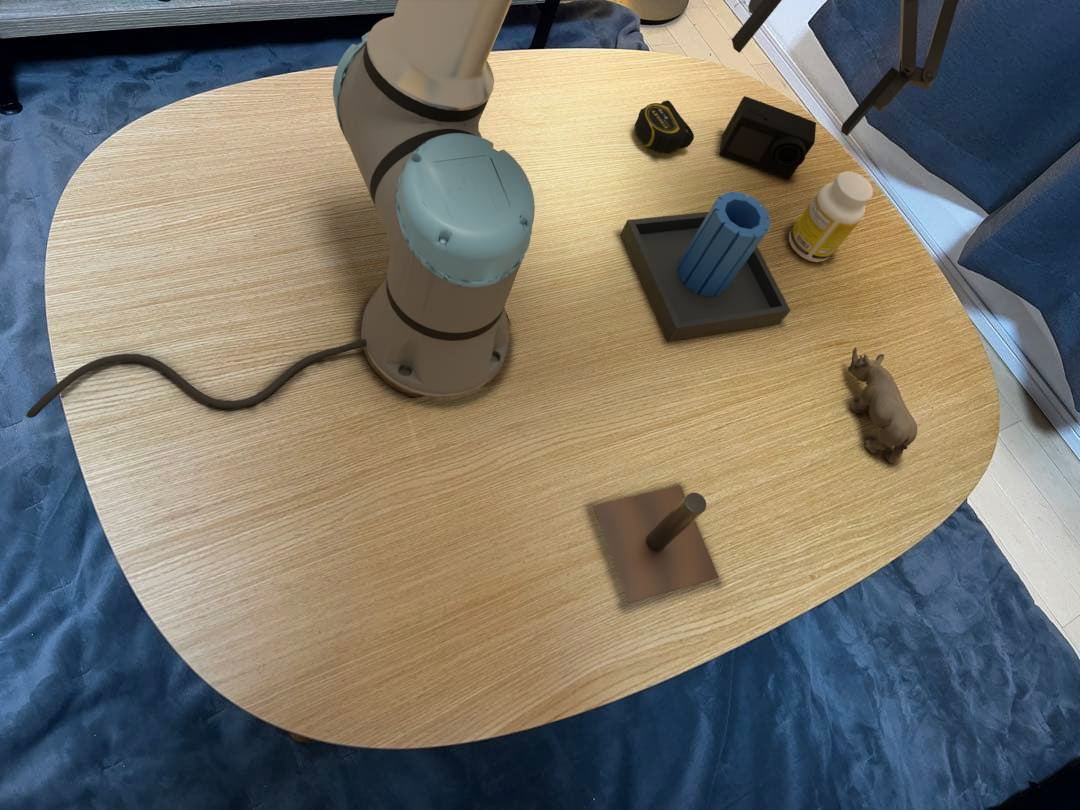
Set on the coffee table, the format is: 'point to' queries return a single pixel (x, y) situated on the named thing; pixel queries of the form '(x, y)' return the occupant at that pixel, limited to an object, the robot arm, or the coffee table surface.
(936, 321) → the coffee table surface
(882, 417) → the rhino figurine
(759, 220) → the blue grooved hollow cylinder
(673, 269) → the tray
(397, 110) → the robot arm
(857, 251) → the coffee table surface
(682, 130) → the tape measure
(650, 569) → the stand
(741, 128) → the digital camera
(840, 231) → the pill bottle
